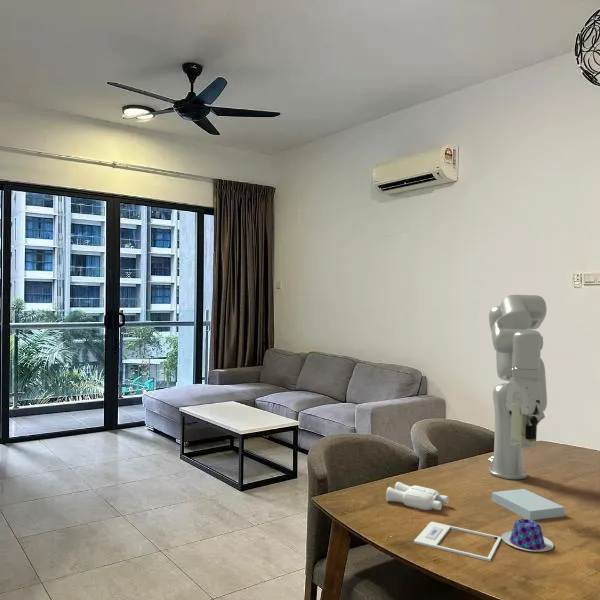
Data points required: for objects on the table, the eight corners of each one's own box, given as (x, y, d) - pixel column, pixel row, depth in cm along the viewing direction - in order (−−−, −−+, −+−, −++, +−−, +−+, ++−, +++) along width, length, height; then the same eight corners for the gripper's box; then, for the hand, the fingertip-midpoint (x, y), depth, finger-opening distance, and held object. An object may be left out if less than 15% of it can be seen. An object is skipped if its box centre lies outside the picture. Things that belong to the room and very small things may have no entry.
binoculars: (399, 493, 175) (399, 478, 175) (449, 505, 166) (450, 489, 166) (384, 503, 166) (385, 487, 166) (437, 516, 157) (437, 499, 157)
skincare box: (521, 448, 161) (522, 406, 161) (509, 445, 165) (510, 403, 165) (537, 446, 164) (538, 404, 164) (525, 443, 168) (526, 402, 168)
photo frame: (431, 520, 151) (501, 536, 142) (430, 524, 151) (501, 540, 142) (413, 539, 138) (490, 558, 129) (413, 544, 138) (489, 563, 129)
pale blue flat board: (491, 502, 170) (491, 492, 170) (523, 498, 174) (524, 488, 174) (529, 522, 155) (530, 511, 155) (564, 517, 159) (564, 507, 159)
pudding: (510, 529, 149) (511, 509, 149) (559, 543, 141) (559, 522, 141) (494, 544, 140) (494, 522, 140) (545, 559, 132) (545, 536, 132)
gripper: (495, 370, 171) (493, 430, 171) (537, 378, 155) (535, 445, 155) (515, 369, 174) (513, 429, 174) (558, 378, 158) (556, 443, 158)
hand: (523, 435), depth 165 cm, fingers closed on skincare box, 4 cm apart
